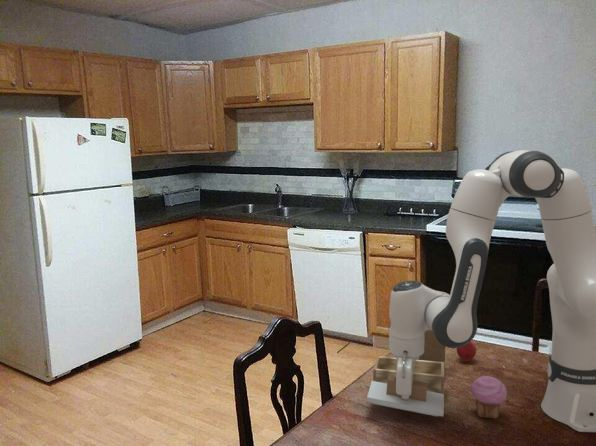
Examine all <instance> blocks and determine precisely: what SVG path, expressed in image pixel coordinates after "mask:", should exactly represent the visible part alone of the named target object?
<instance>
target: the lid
mask: <svg viewBox="0 0 596 446" xmlns="http://www.w3.org/2000/svg"><path fill="white" fill-rule="evenodd" d="M444 397H445V393H444V394H440V393H435V392H429V391H427V383H425V382H419V381H414V380H413V384H412V392H411V395H410V396H409V399H408V400H406V399H402V395H398V394H397V393H396V377H392V376H388V380H387V383H381V382H376V381H373V380H371V382H370V386H369V390H368V393H367V396H366V402H368V403H371V405H378V406H383V407H387V408H392V409H396V410H397V409H398V410H403V411H407V412H412V413H417V414H422V415H428V416H433V417H444V414H445V409H444V408H445V407H444V406H445V405H444V403H445V402H444V401H445V398H444Z"/></svg>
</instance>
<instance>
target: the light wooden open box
mask: <svg viewBox="0 0 596 446" xmlns="http://www.w3.org/2000/svg"><path fill="white" fill-rule="evenodd" d="M397 362H398V359H396V358H395V357H394V356H393V357H391V356H379V355H377V356H376V358H375V362H374V366H373V371H372V372H373V373H372V381H376V382H381V383H387V380H388V376H392V377H396V370H397ZM413 380H414V381H419V382H425V383H427V391H429V392H435V393H440V394H444V395H445V393H444V392H445V378H444V362H436V361H425V360H416V361H415V367H414V375H413Z"/></svg>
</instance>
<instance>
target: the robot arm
mask: <svg viewBox="0 0 596 446" xmlns="http://www.w3.org/2000/svg"><path fill="white" fill-rule="evenodd" d="M457 187H458V188H457V190H456V191H455V194H454V197H453V199H452V201H451V205H450V208H449V211H448V214H447V219H446V225H445V236H446V238H447V241H448V243H449V245H450V246H451V249H452V251H453V254H454V258H455V265H456V267H455V272H454V277H453V281H452V286H451V290H450V294H449V293H447V292H445V291H440V290H435V289H433V288H430V287H429V286H427V285H424V284H423V283H422V282H420V281H418V280H405V281H401V282H398V283H397V284H395V285H394V286H393V288H392V290H391V293H390V299H389V311H388V312H389V313H388V316H389V320H390V326H389V327H390V328H389V330H388V333H389V334H388V338H389V339H388V350H389V351H390V353H391V354H392V355H393V358H396V359H398V362H397V370H396V393H397V394H398V395H402V399H406V400H408V399H409V396H410V395H411V392H412V384H413V375H414V367H415V361H416V360H418V359H419V356H420V355H422V354H423V353H424V342H425V331H427V330H431V331H432V332H433V334H434V335H435V337H436V339H437V340H438V342H439V343H440V344H442V345H443V346H445V348H450V349H457V348H459V347H462V346H465V345H466V344H468V343H469V342H470V341H471V342H472V340H474V338H475V336H476V335H477V332H478V316H477V314H478V313H477V309H478V305H479V304H478V303H479V299H480V294H481V290H482V285H483V281H484V277H485V273H486V270H487V262H488V258H489V257H488V255H489V249H490V242H491V237H492V234H493V230H494V227H495V224H496V220H497V218H498V215H499V211H500V207H501V206H502V204H503V203H504V201H505V200H507V198H509V197H510V196H515V197H525V198H531V199H533V198H534V199H535V201H536V203H537V205H538V208H539V209H538V210H539V216H540V221H541V224H542V229H543V235H544V240H545V244H546V247H547V251H548V252H549V254H550V257H551V260H552V262H553V263H552V265H551V266H550V267H549V269H548V270H547V274H546V281H547V286H548V292H549V305H550V312H551V313H550V314H551V322H552V339H551V354H550V355H549V357H548V358H549V359H548V363H547V377H548V382H547V386H546V390H545V393H544V396H543V400H542V401H541V403H540V407H541V409H542V411H543V413H545V415H547V416H548V417H550V418H551V419H553V420H554V421H558V422H560V423H562V424H564V425H567V426H569V427H570V428H571V429H573V430H574V431H577V432H579V433H580V432H581V433H596V226H595V222H594V217H593V216H594V215H593V213H592V208H591V207H592V206H591V204H590V199H589V195H588V193H587V190H586V187H585V184H584V181H583V179H582V177H581V175H580V174H579V173H578V172H577V171H576V170H573V169H570V168H565V167H562V168H561V167H560V166H559V165H558V164H557V162H556V161H555V160H554V159H553V158H552V157H551V156H550V155H548V154H546V153H545V152H543V151H539V150H529V149H528V150H527V149H520V150H515V151H506V152H503V153H502V154H499V155H498V156H496V158H494V160H493V161H492V162H491V163H489V165H488V166H487V167H486V168H485V169H484V168H483V169H479V168H477V169H472V170H469V171H467V173H466V174H465V175H464V176H463V178H462V179H461V182H460V183H459V185H458V186H457Z"/></svg>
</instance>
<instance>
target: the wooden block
mask: <svg viewBox="0 0 596 446" xmlns="http://www.w3.org/2000/svg"><path fill="white" fill-rule="evenodd" d="M418 360H425V361H436V362H444V379H446V378H445V377H446V376H445V375H446V374H445V373H446V347H445V346H443V345H442V344H440V343H439V342H438V340H437V339H436V337H435V335H434V334H433V332H432V331H431V330H427V331H425V342H424V353H423V354H422V355H420V356H419V359H418Z"/></svg>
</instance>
